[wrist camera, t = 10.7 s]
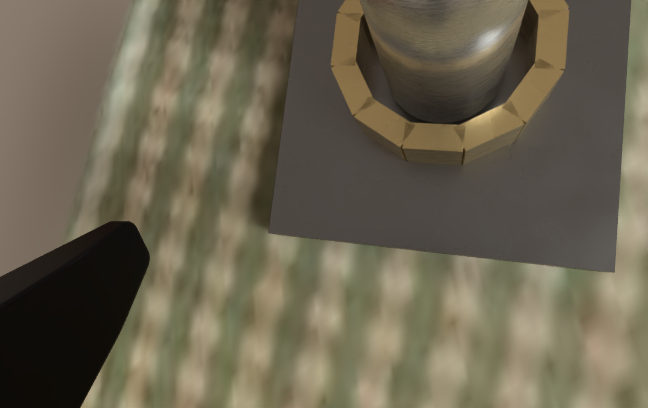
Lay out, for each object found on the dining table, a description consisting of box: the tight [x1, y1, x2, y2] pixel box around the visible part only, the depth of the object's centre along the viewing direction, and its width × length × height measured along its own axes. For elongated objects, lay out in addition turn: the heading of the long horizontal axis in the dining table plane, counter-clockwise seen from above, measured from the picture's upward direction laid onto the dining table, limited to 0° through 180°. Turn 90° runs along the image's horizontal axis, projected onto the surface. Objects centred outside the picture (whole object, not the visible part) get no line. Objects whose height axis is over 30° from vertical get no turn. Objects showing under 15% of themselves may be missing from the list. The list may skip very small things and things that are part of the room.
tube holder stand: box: [268, 0, 631, 273], centre depth 20 cm, size 16×14×4 cm
